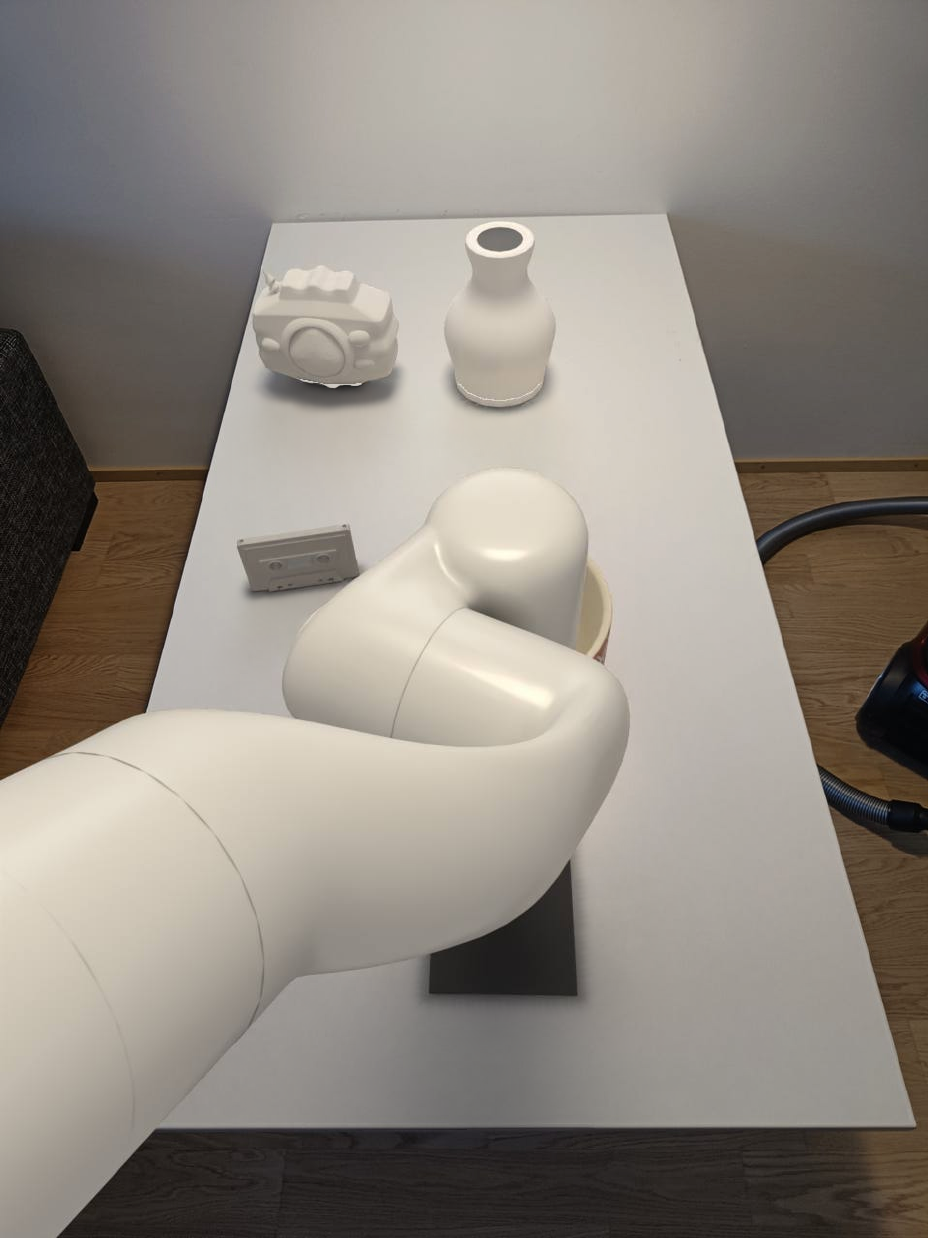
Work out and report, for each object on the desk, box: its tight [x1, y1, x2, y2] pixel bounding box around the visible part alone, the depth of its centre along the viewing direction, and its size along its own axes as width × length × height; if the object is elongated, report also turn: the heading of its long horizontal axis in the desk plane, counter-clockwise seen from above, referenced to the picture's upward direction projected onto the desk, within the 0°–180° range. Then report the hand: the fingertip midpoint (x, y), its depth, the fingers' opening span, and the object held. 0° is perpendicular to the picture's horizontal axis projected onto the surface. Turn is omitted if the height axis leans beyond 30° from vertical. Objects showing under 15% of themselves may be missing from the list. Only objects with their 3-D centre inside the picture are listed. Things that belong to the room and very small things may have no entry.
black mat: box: [428, 858, 578, 996], centre depth 76 cm, size 16×12×1 cm
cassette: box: [236, 523, 360, 592], centre depth 95 cm, size 12×2×8 cm, turn 100°
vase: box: [443, 220, 557, 408], centre depth 111 cm, size 14×14×20 cm
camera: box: [252, 265, 400, 384], centre depth 113 cm, size 11×18×16 cm, turn 82°
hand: (502, 812), depth 63 cm, fingers closed on bar, 4 cm apart
